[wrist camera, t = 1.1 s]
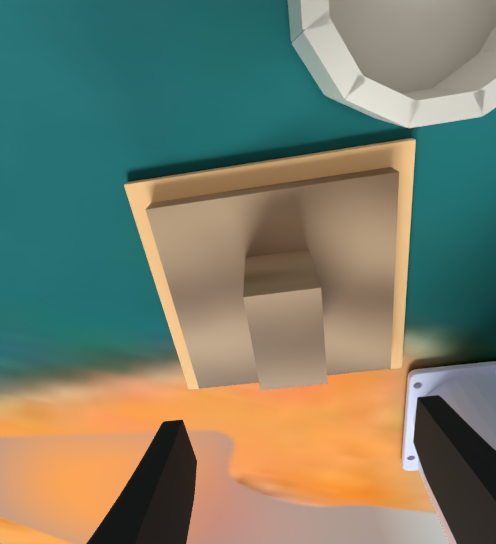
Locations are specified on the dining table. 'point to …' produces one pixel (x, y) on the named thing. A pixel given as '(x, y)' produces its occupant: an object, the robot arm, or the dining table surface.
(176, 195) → the mat
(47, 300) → the dining table surface
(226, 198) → the lid
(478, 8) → the bowl
